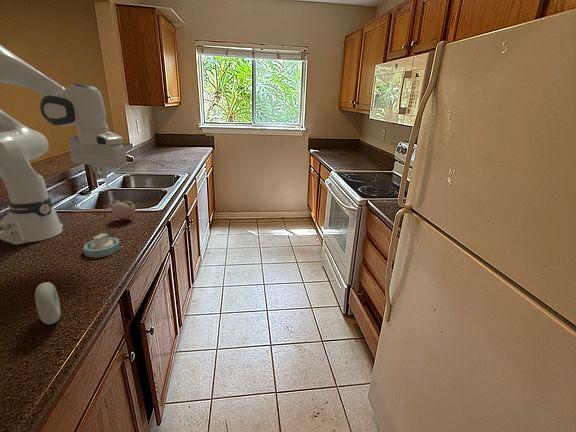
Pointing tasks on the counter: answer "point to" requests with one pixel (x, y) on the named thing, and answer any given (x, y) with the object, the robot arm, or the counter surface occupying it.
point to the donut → (47, 303)
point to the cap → (101, 242)
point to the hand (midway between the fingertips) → (101, 178)
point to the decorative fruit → (123, 209)
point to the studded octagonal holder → (101, 252)
